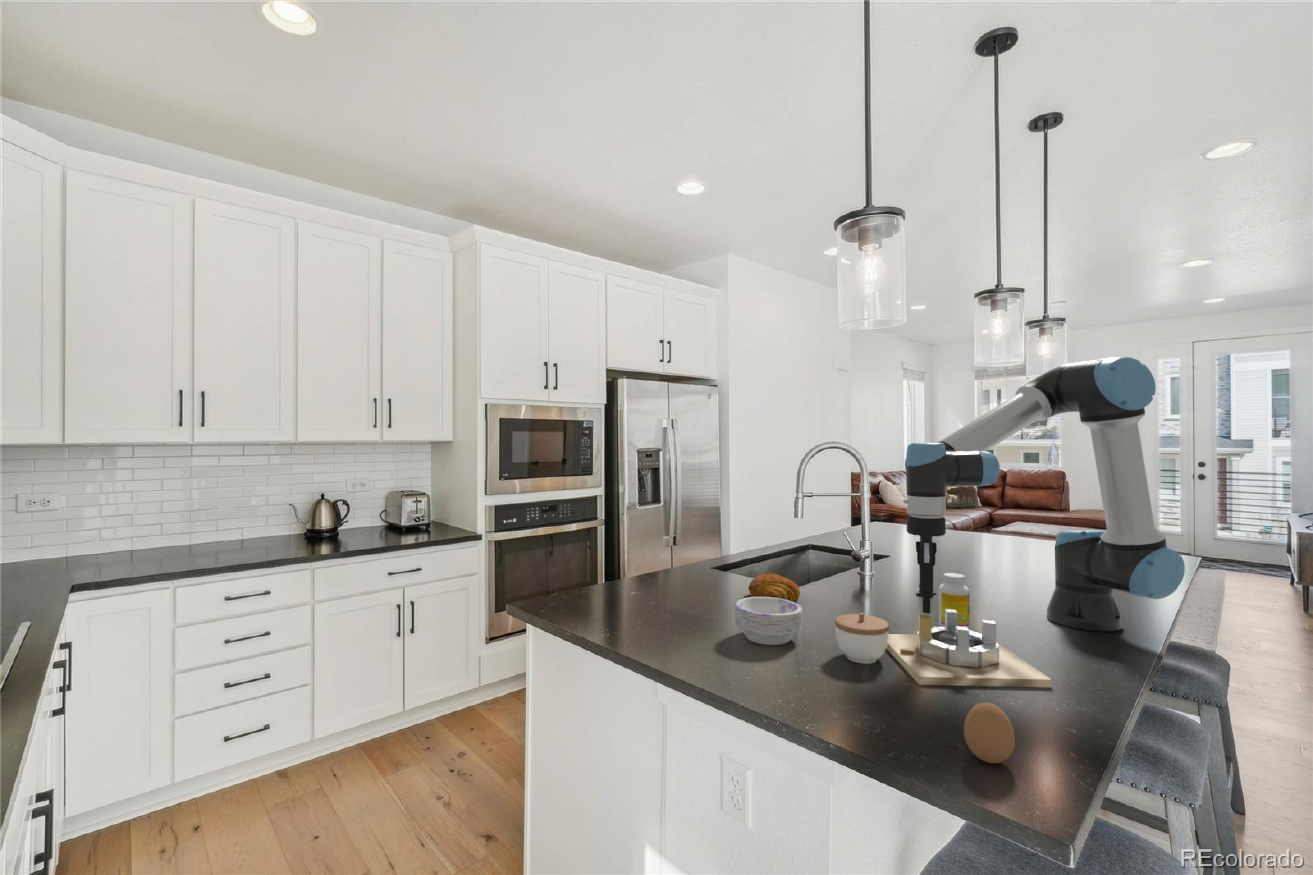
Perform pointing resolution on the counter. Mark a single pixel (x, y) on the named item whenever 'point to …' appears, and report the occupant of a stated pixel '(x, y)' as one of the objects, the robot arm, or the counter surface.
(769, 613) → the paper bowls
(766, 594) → the croissant
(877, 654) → the lidded jar
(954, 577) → the supplement bottle
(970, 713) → the egg
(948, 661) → the ring nut
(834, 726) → the counter surface
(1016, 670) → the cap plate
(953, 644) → the dark grey dome
